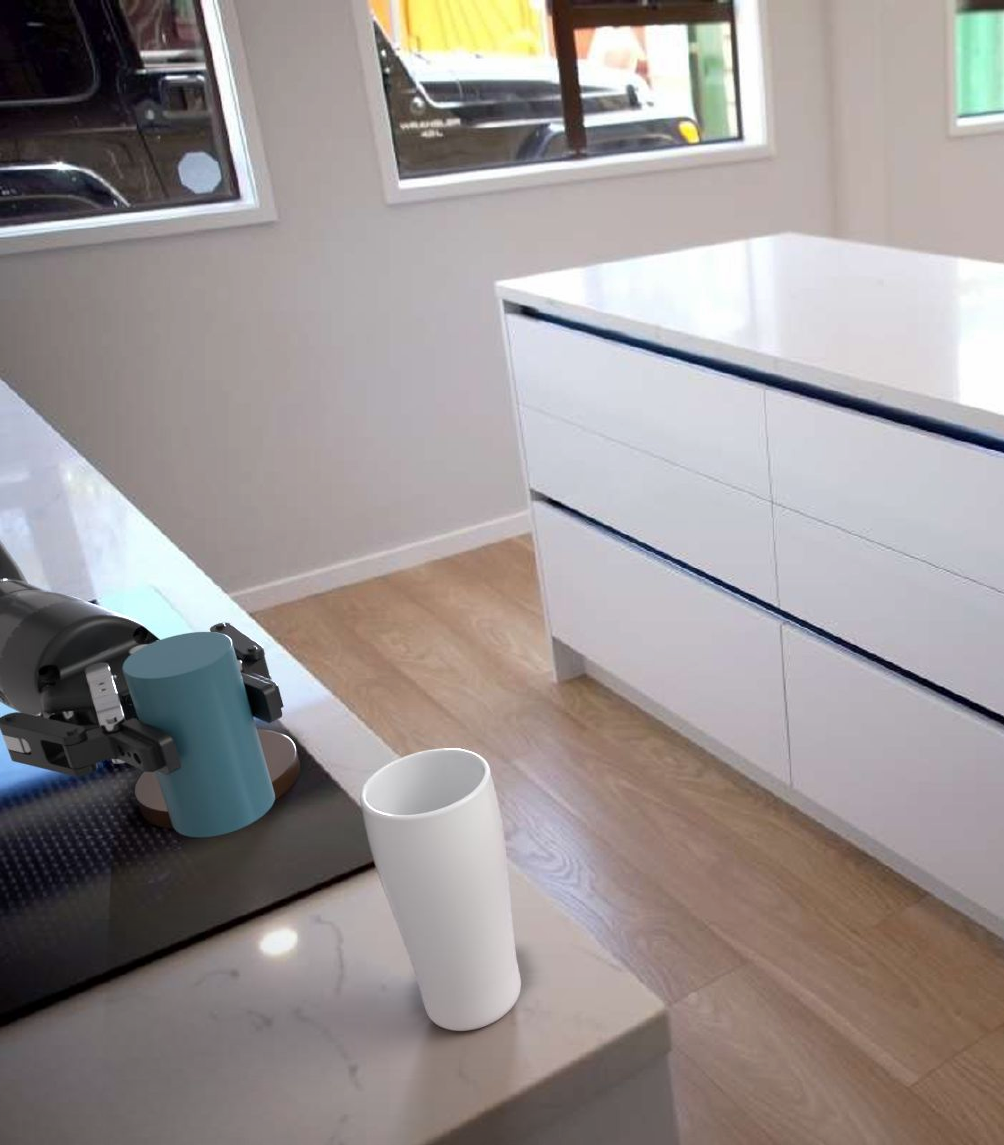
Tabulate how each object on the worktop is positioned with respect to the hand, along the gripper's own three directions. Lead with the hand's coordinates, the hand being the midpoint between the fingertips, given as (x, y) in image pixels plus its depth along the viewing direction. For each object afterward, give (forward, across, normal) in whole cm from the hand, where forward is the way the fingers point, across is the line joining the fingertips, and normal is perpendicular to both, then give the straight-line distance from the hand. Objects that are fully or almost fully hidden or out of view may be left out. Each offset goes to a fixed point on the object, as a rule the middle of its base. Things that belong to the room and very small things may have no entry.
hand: (224, 729), depth 70 cm
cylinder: (-3, 0, +6) cm, 7 cm away
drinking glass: (+11, +4, +17) cm, 21 cm away
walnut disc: (-23, +10, +17) cm, 30 cm away
